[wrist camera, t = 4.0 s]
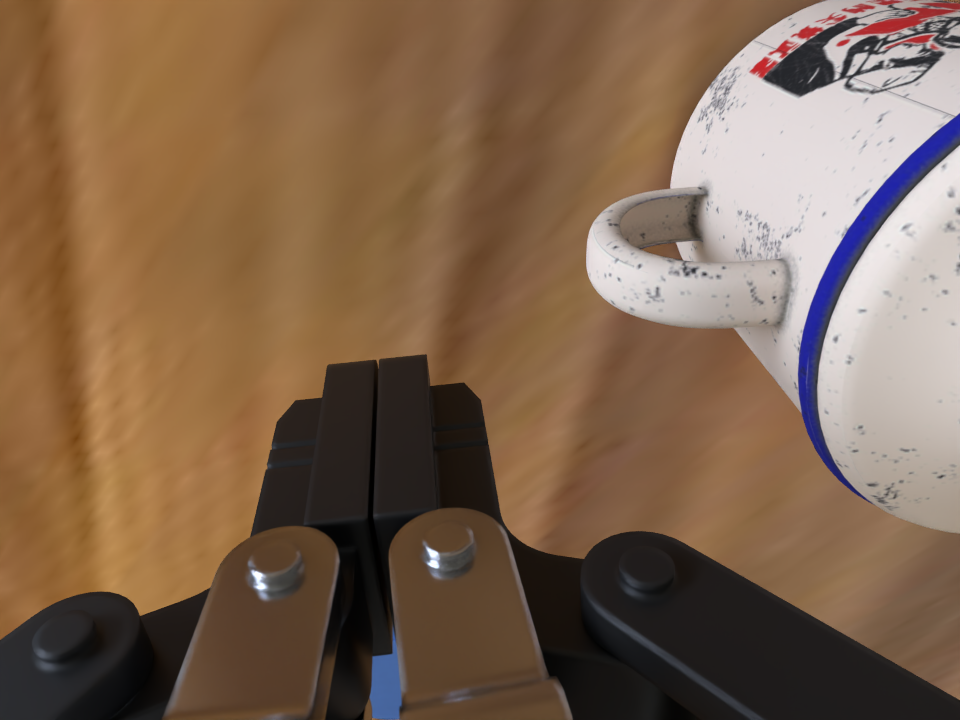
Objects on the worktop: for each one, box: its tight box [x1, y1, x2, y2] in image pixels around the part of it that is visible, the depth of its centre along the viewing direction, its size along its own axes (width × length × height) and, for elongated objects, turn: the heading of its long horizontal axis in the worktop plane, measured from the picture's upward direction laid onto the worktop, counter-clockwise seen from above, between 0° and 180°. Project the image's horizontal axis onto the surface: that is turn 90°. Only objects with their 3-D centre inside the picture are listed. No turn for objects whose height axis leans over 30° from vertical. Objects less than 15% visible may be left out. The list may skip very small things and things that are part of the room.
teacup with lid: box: [586, 0, 960, 533], centre depth 15 cm, size 12×9×12 cm
